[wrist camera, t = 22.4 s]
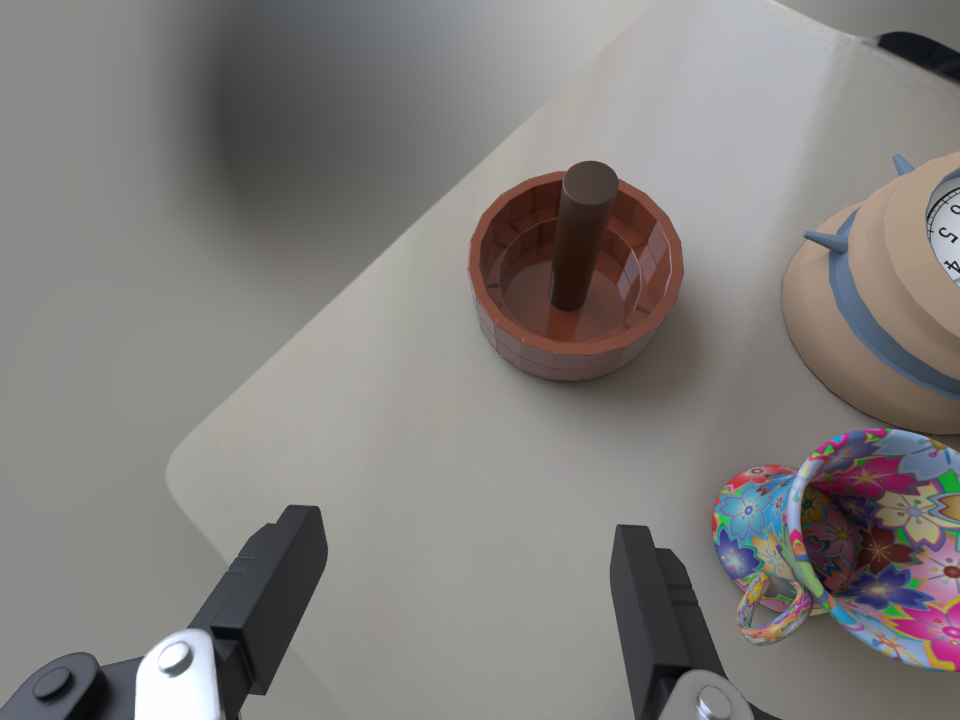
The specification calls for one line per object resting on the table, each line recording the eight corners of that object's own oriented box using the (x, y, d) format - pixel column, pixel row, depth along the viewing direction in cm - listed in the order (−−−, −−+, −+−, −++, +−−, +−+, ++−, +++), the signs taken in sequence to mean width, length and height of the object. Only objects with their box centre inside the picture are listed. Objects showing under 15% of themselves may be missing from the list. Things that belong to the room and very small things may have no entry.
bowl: (469, 380, 34) (460, 351, 28) (481, 223, 39) (475, 171, 33) (662, 387, 33) (693, 358, 27) (650, 224, 37) (674, 170, 32)
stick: (548, 310, 35) (562, 205, 23) (548, 277, 36) (562, 160, 24) (586, 311, 34) (620, 205, 23) (585, 278, 35) (618, 160, 24)
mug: (775, 432, 31) (896, 387, 21) (893, 558, 28) (1099, 573, 18) (635, 541, 30) (694, 547, 20) (744, 686, 27) (880, 781, 17)
